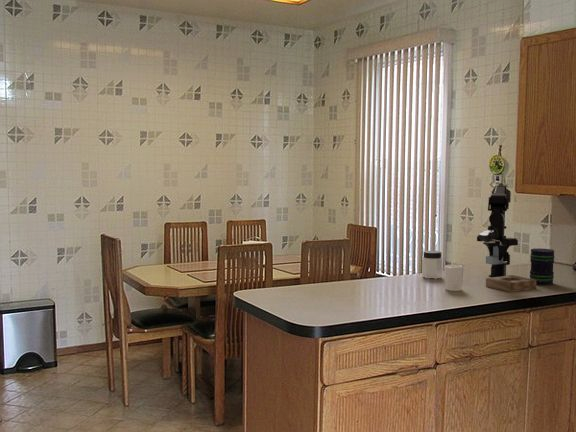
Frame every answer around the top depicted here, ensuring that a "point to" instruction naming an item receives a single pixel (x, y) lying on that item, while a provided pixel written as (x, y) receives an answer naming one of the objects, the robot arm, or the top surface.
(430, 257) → the jar
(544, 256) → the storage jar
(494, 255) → the grey stepped block
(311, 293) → the top surface
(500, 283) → the well block
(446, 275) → the white cup
